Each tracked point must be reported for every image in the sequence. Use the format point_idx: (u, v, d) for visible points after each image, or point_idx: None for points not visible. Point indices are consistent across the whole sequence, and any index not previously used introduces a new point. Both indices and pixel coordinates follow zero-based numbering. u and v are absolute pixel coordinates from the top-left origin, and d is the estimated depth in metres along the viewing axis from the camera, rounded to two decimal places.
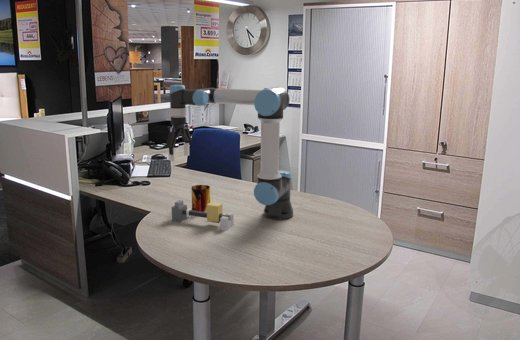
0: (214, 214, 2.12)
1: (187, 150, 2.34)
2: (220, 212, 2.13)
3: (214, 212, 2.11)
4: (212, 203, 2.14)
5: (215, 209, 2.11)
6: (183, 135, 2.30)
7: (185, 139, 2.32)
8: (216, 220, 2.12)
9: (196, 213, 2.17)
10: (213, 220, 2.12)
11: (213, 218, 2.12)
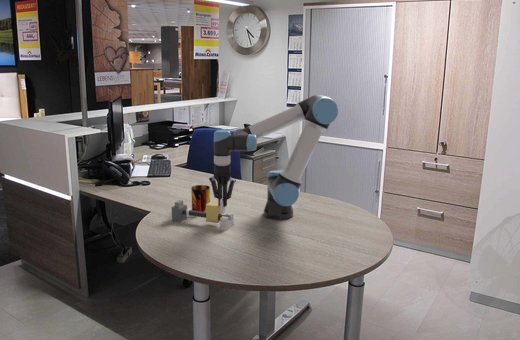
0: (213, 214, 2.12)
1: None
2: (219, 212, 2.13)
3: (214, 212, 2.11)
4: (211, 203, 2.14)
5: (214, 209, 2.11)
6: None
7: None
8: (215, 220, 2.12)
9: (196, 213, 2.17)
10: (212, 220, 2.13)
11: (212, 218, 2.12)
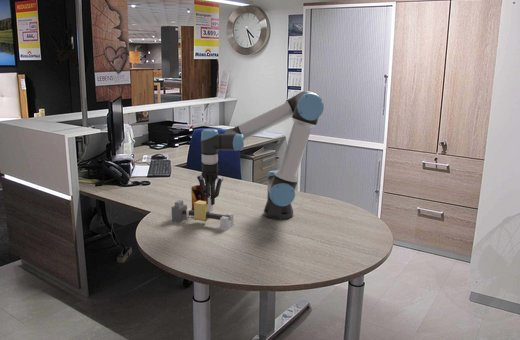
0: (201, 212, 2.14)
1: None
2: (207, 210, 2.15)
3: (202, 210, 2.14)
4: (199, 201, 2.16)
5: (202, 207, 2.13)
6: None
7: None
8: (203, 218, 2.14)
9: None
10: (200, 218, 2.15)
11: (200, 216, 2.15)
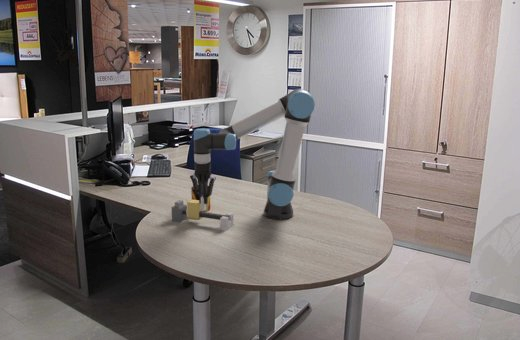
0: (194, 211, 2.15)
1: None
2: (200, 209, 2.17)
3: (195, 209, 2.15)
4: (193, 200, 2.18)
5: (195, 206, 2.15)
6: None
7: None
8: (196, 217, 2.16)
9: None
10: (193, 217, 2.16)
11: (193, 215, 2.16)
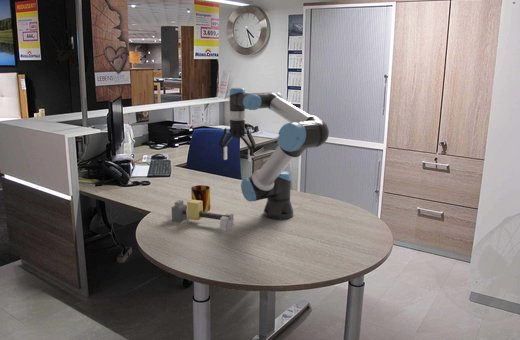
0: (194, 211, 2.15)
1: None
2: (200, 209, 2.17)
3: (195, 209, 2.15)
4: (193, 200, 2.18)
5: (195, 206, 2.15)
6: None
7: None
8: (196, 217, 2.16)
9: None
10: (193, 217, 2.16)
11: (193, 215, 2.16)
